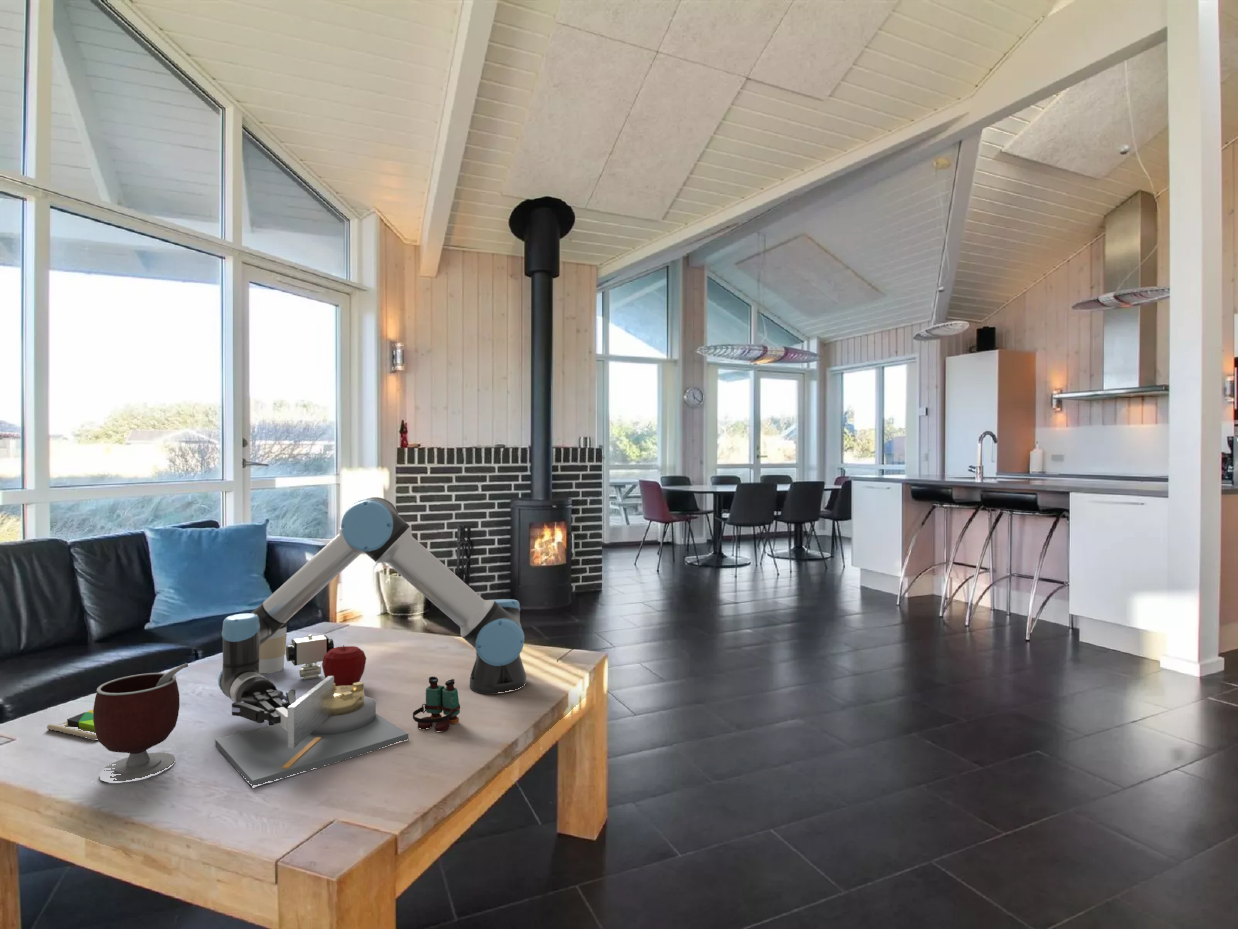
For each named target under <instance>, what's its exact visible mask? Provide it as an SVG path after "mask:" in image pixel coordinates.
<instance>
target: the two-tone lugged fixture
mask: <svg viewBox="0 0 1238 929" xmlns="http://www.w3.org/2000/svg"><path fill="white" fill-rule="evenodd" d="M364 686H365V684H364V682H362V681H359V682H357V683H353V686H351V685H346V686H336V684H335V683H334V676H328V677H326V678H325V677H324V678H323V679H322V680H321V681H320V682H319V683H318V684H316V685H314V686H313V687H312V688H311V689H310V690H308V691H307V692H306V693H304V694H303V695H302V696H300V697H299V698H298V699H296V701H295V702H294V703H293V704H291V705H290V706H289V707H288V748H295V747H296V746H297V745H298V744H299V743H300V742H302V741H303V740H304V739H305V738H306V737H307V736H308V735H309V734H310V733H311V732H312V731H314V730H315V729H316V728H317V727H318V726H319V725H320V724H321V723H322V722H323V721H325V720H326V719H327V718H328V717H329V716H333V715H342V714H347V713H350V712H353V711H356V710H358V709H360V708H362V707H363V706H364V696H365V689H364Z"/></svg>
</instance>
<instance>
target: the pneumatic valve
mask: <svg viewBox="0 0 1238 929" xmlns="http://www.w3.org/2000/svg"><path fill="white" fill-rule="evenodd" d="M307 636H308V637H306V636H305V637H302V638H301V637H299V638H293V639H291V642H290V643H289V644H286V649H285V658H286V662H291V663H292V664H293V666H301V667H300V669H299V671H298V672H299V677H300V678H302V679H303V680H304V681H307V680H314V679H318V677H319V675H321V673H322V665H317V664H318V663H319V662H320V663H321V662H323V658H324V656H325V654H326V653H327V652H329V651H330V650H331V649H333V648H335V645H334V643H335V642H334V639H333V638H329V637H328V636H327V635H326V634H322V635H315V636H313V634H308V635H307Z"/></svg>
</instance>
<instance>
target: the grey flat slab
mask: <svg viewBox="0 0 1238 929" xmlns="http://www.w3.org/2000/svg"><path fill="white" fill-rule="evenodd" d="M376 708H377V703H376V700H375V699H374V698H372V697H369V696H365V695H364V706H363V707H362V708H360V709H358V710H356V711H353V712H350V713H347V714H342V715H333V716H329V717H328V718H327V719H326V720H325V721H323V722H322V723H321V724H320V725H319V726H318V727H317V728H316V729H315V730H314V731H312V732H311V733H310V734H309V735H308V736H307V737H306V738H305V739H304V740H303V741H302V742H300V743H299V744H298V745H297V746H296V747H295V748H288V731H286V730H285V729H284V728H282V727H281V726H280V725H279V724H278V723H277V724H274V725H266V726H262V727H258V728H254V729H250V730H246V731H242V732H238V733H234V734H231V735H227V736H222V737H219V738H216V739H215V742H214V743H215V746H214V747H215V748H218V749H219V750H218V749H217V750H218V751H219V752H220V751H221V752H220V753H221V754H222V755H223V754H224V755H223V757H224V756H225V757H226V758H227V759H228V760H227V759H226V758H225V757H224V758H225V759H226V760H227V762H229V761H230V762H231V763H230V762H229V763H230V765H231V764H232V765H233V766H234V767H235V768H236V769H237V770H238V771H239V772H240V774H242V775H243V776H244V778H246V780H247V781H249V783H250V784H252V786H253V785H258V784H263V783H265V782H268V781H274V780H276V779H280V778H285V777H287V776H290V775H293V774H297V773H300V772H303V771H308V770H311V769H313V768H318V769H320V768H319V767H321V768H323V767H322V766H324V765H327V766H329V765H328V764H331V765H333V763H334V764H336V763H335V762H337V763H339V762H338V761H340V762H343V760H344V761H346V760H345V759H347V760H349V759H348V758H350V757H353V758H356V757H359V756H358V755H360V754H363V755H366V754H368V753H367V752H369V753H371V752H370V751H373V752H375V751H374V750H376V751H378V750H377V749H379V748H382V747H385V746H388V745H390V744H394V743H396V742H399V741H404V740H407V739H408V740H409V733H408V732H407V731H405V730H404V729H402V728H400V727H398V726H397V725H396V724H394V723H392V722H391V721H389V720H388V719H386V718H385V717H383V716H380V714H378V713H377V709H376ZM382 749H383V748H382ZM379 750H380V749H379ZM365 753H366V754H365ZM360 756H361V755H360ZM350 759H351V758H350ZM232 765H231V766H232ZM233 766H232V767H233ZM234 767H233V768H234ZM324 767H325V766H324ZM235 768H234V769H235ZM236 769H235V770H236ZM237 770H236V771H237ZM238 771H237V772H238ZM311 771H312V770H311ZM308 772H309V771H308ZM240 774H239V775H240ZM244 778H243V779H244ZM285 779H286V778H285Z"/></svg>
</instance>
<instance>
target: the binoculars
mask: <svg viewBox="0 0 1238 929" xmlns="http://www.w3.org/2000/svg"><path fill="white" fill-rule="evenodd" d="M438 682H439V678H438V677H437V676H430V677H428V683H429V685H428V686H427V687H426V688H425V703H422V705H421V707H419V708H418V709H415V710H414V711H413V712H412V719H413V720H414V722H416V723H417V728H418V729H419V728H421V729H426V728H430V727H431V728H432V727H433V724H434V730H436V731H443V732H445V731H447V730H449V729H450V727H451V725H455V724H459V720H460V719H459V716H458V715H459V714H460V713H461V711H460V710H461V704H460V699H459V691H458V688H457V687H455V686H454V685H455V679H454V678H451V679H448V680H447V681H445V682H444V683H445V684H444V685H445V686H444V685H439V684H438ZM421 713H422V714H425V713H426V714H430V716H424V717H417V716H416V715H418V714H421ZM441 713H443V715H444V716H443V715H442V714H441ZM431 728H430V729H431ZM436 731H435V732H436Z"/></svg>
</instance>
